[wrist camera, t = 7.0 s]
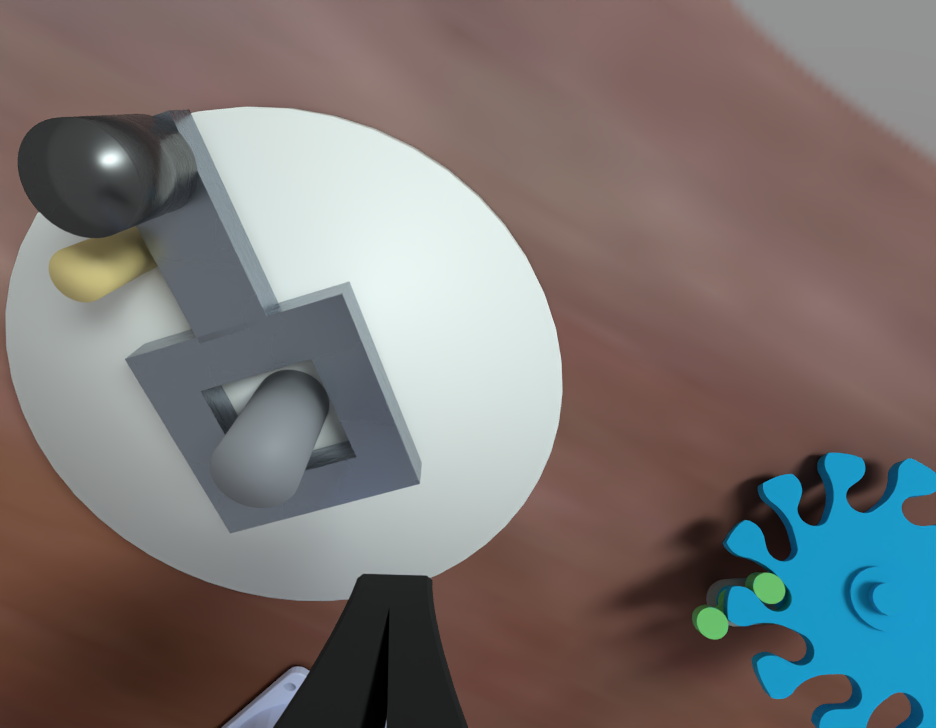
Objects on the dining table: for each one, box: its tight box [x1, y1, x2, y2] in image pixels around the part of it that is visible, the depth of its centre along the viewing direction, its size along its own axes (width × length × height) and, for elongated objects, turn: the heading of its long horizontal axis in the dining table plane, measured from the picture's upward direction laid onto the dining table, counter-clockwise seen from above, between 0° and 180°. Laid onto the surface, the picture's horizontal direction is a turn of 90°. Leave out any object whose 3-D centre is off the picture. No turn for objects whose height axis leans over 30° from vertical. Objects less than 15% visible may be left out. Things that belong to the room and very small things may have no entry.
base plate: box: [6, 107, 562, 601], centre depth 18 cm, size 18×18×5 cm
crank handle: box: [18, 110, 422, 533], centre depth 16 cm, size 13×7×4 cm, turn 17°
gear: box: [692, 453, 936, 728], centre depth 22 cm, size 11×6×10 cm
